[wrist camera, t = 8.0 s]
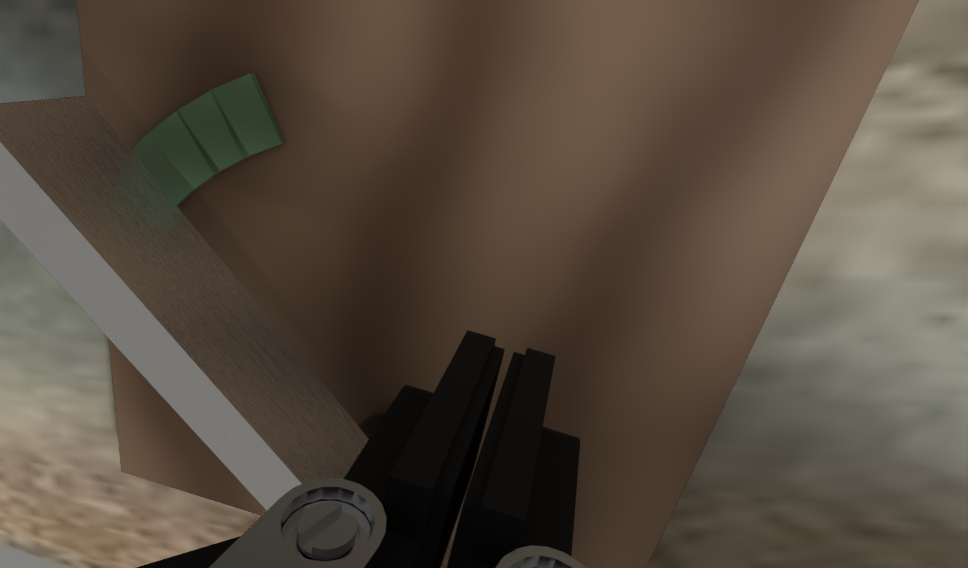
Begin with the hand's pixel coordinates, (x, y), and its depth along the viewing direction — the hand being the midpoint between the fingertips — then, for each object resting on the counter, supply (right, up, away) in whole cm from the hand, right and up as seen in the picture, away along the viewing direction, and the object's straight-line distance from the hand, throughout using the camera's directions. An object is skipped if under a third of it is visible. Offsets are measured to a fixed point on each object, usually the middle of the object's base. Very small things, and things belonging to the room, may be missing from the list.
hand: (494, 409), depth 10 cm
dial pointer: (-6, +1, +8) cm, 10 cm away
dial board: (-3, +3, +8) cm, 9 cm away
